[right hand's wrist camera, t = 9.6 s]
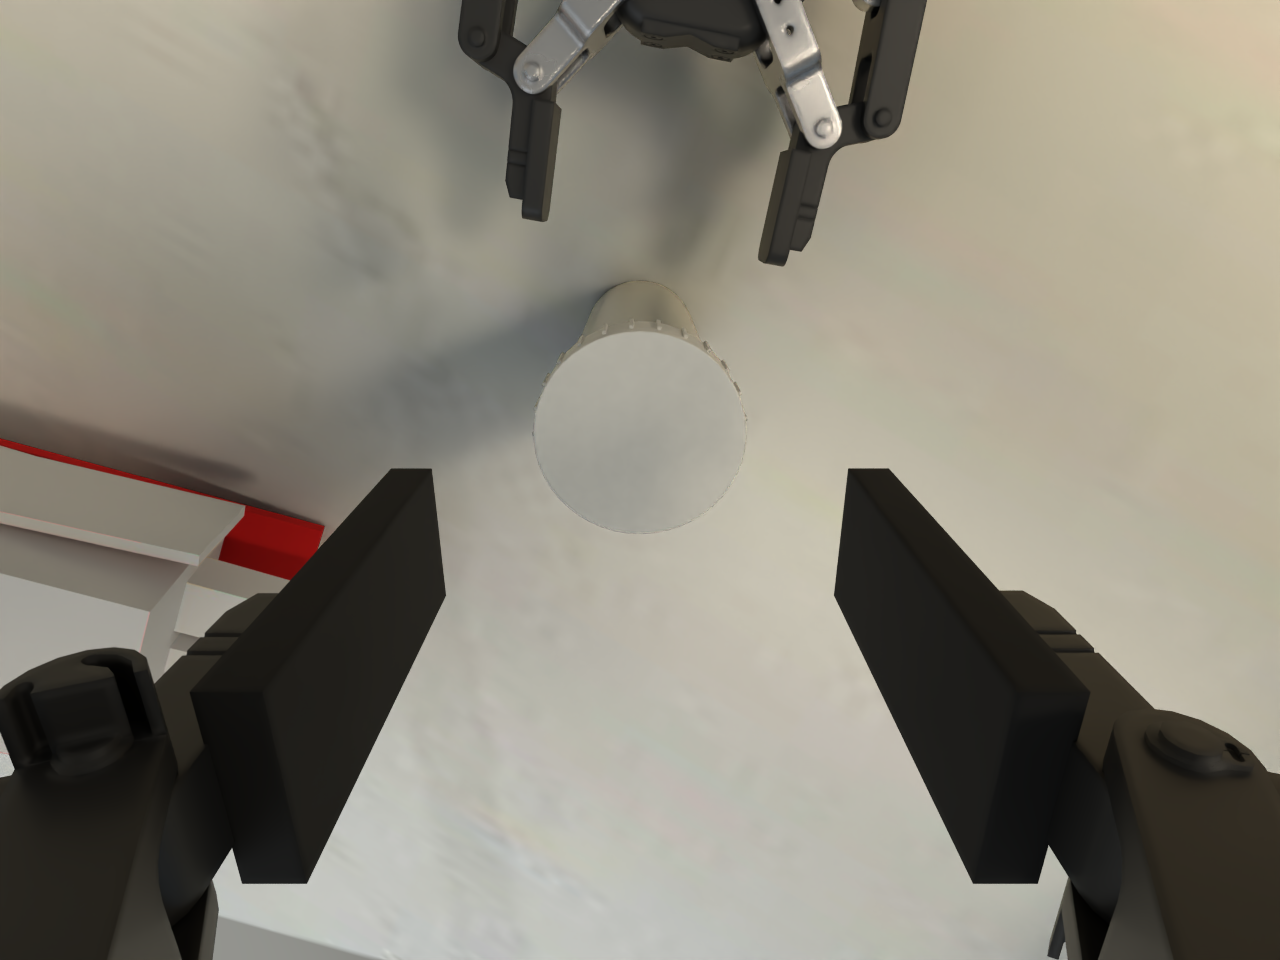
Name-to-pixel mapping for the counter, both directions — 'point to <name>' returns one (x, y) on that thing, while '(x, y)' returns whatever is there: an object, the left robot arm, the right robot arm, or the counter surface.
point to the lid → (639, 427)
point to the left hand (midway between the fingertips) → (654, 241)
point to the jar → (640, 307)
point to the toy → (125, 560)
